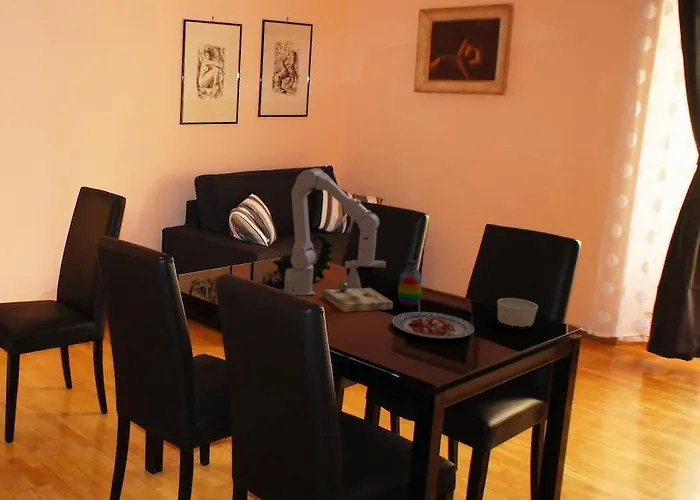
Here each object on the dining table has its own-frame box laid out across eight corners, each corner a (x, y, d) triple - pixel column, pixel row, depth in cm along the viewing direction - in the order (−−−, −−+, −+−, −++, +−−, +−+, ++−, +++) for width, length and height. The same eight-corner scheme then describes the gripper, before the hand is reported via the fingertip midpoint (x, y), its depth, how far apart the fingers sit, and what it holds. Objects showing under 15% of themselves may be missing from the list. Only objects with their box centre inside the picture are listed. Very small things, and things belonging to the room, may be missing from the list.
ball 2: (366, 298, 277) (373, 292, 278) (362, 296, 280) (369, 290, 281) (371, 305, 279) (378, 299, 279) (367, 302, 282) (374, 296, 282)
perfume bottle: (397, 293, 295) (400, 261, 292) (404, 289, 300) (407, 258, 298) (413, 296, 292) (416, 264, 290) (420, 292, 298) (423, 261, 295)
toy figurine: (318, 280, 311) (263, 280, 295) (325, 232, 308) (270, 230, 292) (332, 286, 303) (277, 287, 288) (339, 237, 300) (284, 235, 285)
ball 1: (340, 292, 280) (341, 283, 279) (337, 290, 282) (337, 281, 282) (349, 292, 281) (349, 283, 280) (345, 290, 284) (346, 281, 283)
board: (343, 311, 266) (344, 304, 266) (323, 296, 282) (323, 289, 282) (392, 309, 274) (392, 301, 273) (369, 294, 290) (370, 287, 289)
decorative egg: (425, 305, 281) (427, 277, 279) (408, 308, 276) (410, 280, 274) (409, 299, 287) (411, 272, 285) (392, 302, 282) (394, 274, 280)
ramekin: (536, 321, 273) (539, 301, 272) (534, 332, 261) (537, 311, 259) (497, 315, 276) (499, 295, 275) (493, 325, 264) (495, 305, 262)
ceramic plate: (379, 319, 262) (380, 310, 261) (449, 317, 271) (450, 308, 270) (412, 346, 238) (413, 336, 237) (488, 342, 247) (489, 333, 247)
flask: (363, 290, 294) (365, 264, 292) (343, 289, 294) (345, 262, 292) (363, 285, 301) (365, 259, 299) (344, 284, 301) (345, 258, 299)
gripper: (352, 252, 268) (349, 291, 271) (391, 251, 274) (387, 290, 277) (343, 247, 275) (340, 285, 277) (382, 247, 280) (378, 284, 283)
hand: (363, 287), depth 278 cm, fingers closed
